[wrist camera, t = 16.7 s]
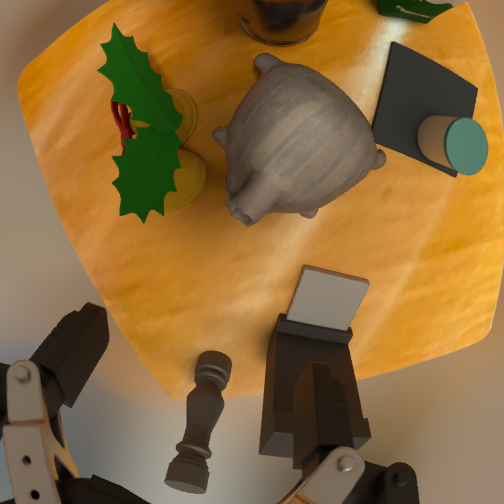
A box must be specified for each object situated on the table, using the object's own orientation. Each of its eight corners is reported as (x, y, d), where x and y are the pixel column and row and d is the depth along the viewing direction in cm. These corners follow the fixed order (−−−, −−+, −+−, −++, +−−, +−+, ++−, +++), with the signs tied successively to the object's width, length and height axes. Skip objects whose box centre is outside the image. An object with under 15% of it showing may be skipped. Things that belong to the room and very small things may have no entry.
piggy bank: (274, 248, 38) (209, 253, 25) (223, 152, 41) (153, 124, 29) (395, 173, 30) (392, 132, 18) (323, 79, 33) (282, 16, 21)
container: (423, 106, 28) (454, 107, 21) (460, 127, 28) (493, 133, 21) (411, 152, 31) (439, 162, 24) (448, 169, 31) (479, 183, 24)
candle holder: (208, 375, 52) (178, 492, 30) (192, 353, 50) (153, 477, 28) (237, 370, 51) (216, 495, 28) (223, 348, 48) (192, 481, 26)
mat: (391, 42, 25) (393, 41, 25) (475, 88, 26) (478, 88, 25) (367, 140, 32) (369, 140, 31) (453, 176, 32) (456, 177, 31)
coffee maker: (297, 262, 40) (306, 377, 22) (374, 281, 40) (419, 387, 22) (267, 348, 48) (258, 454, 30) (332, 359, 48) (345, 460, 30)
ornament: (149, 86, 35) (61, 65, 22) (195, 58, 31) (105, 19, 18) (174, 224, 37) (75, 244, 24) (228, 209, 33) (125, 225, 20)
